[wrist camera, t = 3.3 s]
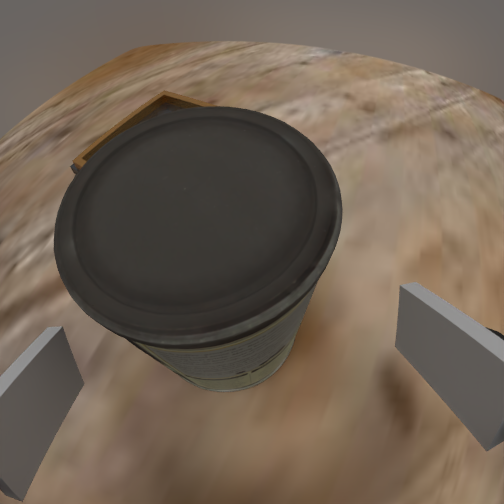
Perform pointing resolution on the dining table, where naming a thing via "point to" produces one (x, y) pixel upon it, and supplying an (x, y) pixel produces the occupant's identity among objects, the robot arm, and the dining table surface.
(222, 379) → the coffee can
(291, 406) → the dining table surface
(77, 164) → the mount plate
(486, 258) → the dining table surface
